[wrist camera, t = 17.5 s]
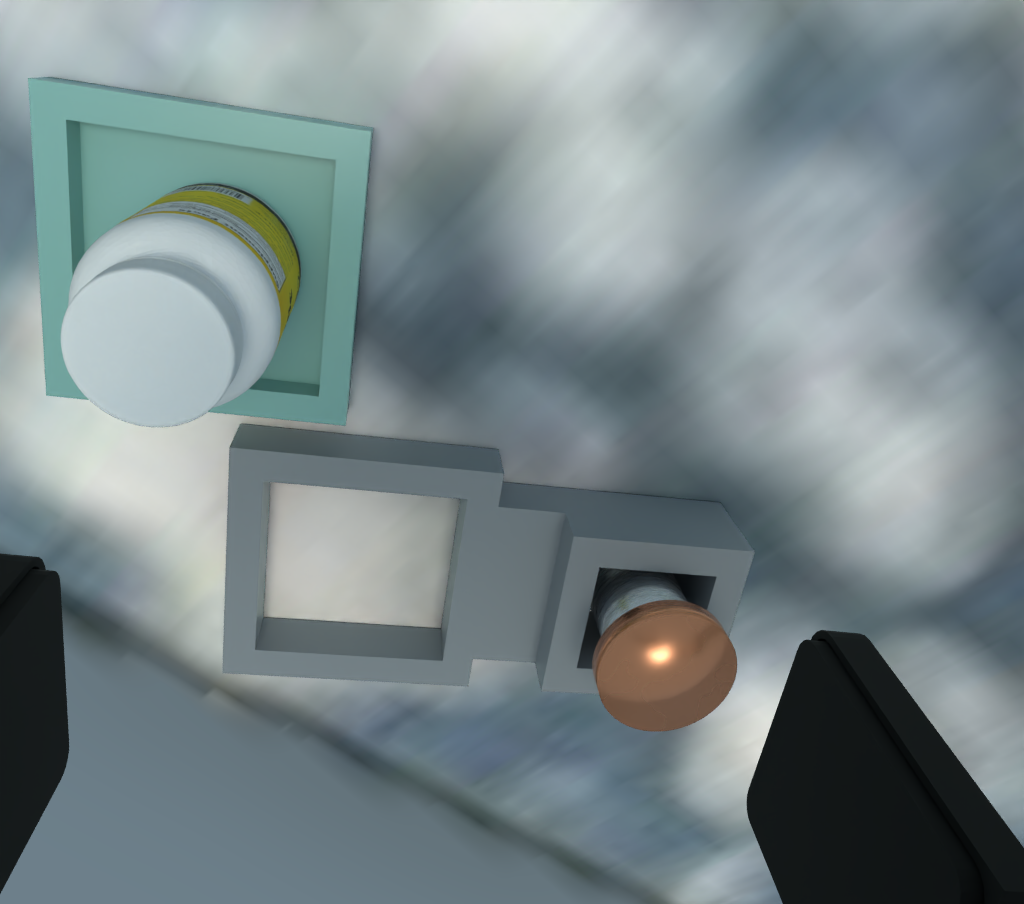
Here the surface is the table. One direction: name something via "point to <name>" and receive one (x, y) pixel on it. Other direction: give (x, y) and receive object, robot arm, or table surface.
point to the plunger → (657, 651)
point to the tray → (207, 159)
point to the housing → (466, 562)
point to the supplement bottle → (180, 305)
